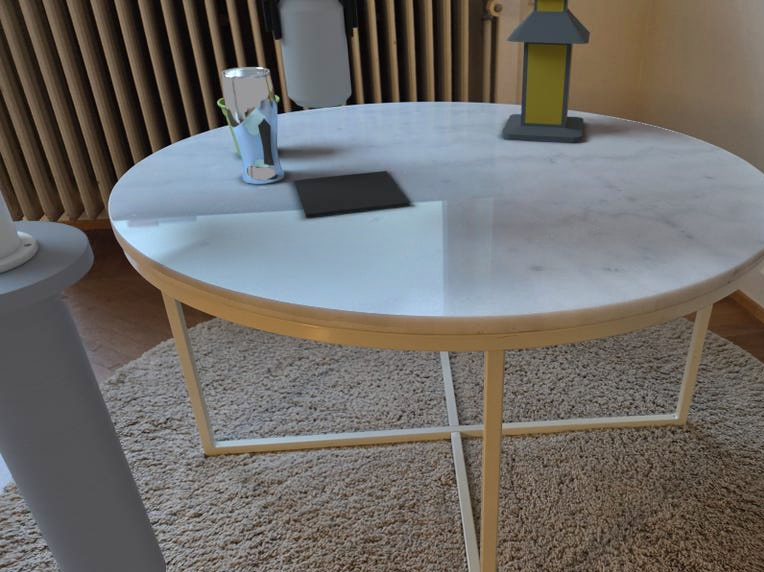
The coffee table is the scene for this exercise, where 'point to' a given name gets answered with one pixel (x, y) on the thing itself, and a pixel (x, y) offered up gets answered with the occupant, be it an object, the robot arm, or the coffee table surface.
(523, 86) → the lantern
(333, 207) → the mat
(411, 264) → the coffee table surface
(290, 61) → the can
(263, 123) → the beer glass
